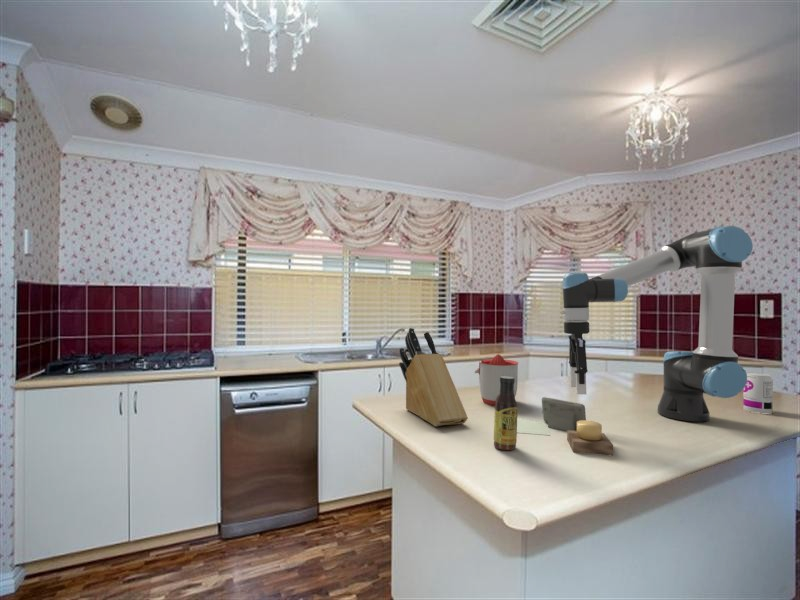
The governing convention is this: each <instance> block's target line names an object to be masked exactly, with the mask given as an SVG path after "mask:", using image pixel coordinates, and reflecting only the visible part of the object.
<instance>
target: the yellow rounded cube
mask: <svg viewBox="0 0 800 600" xmlns="http://www.w3.org/2000/svg"><path fill="white" fill-rule="evenodd" d="M602 427H603V425H602V424H601V423H599V422H598V421H593V420H588V419H586V420H581V421H577V429H576V431H577V436H578V437H580V438H583V440H600V439H602V433H603V431H602V429H603V428H602Z"/></svg>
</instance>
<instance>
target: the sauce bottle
mask: <svg viewBox="0 0 800 600" xmlns="http://www.w3.org/2000/svg"><path fill="white" fill-rule="evenodd" d="M514 382H515V379H514V377H509V376H501V377H500V394H499V395H498V397H497V399H496V402H495V406H494V407H495V408H494V421H493V422H494V423H493V424H494V425H493V445H494V447H495V448H497V449H498V450H502V451H513V450H515V449H516V447H517V441H518V440H517V437H518V435H517V434H518V433H517V418H518V404H517V401H516V396H515V397H514Z"/></svg>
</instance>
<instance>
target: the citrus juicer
mask: <svg viewBox="0 0 800 600" xmlns="http://www.w3.org/2000/svg"><path fill="white" fill-rule="evenodd" d="M478 364H479V365H478V368H477V369H475V371H474V374H478V379H479V381H478V382H479V383H478V384H479V385H478V386H479V391H480V395H481V399H482V402H483V403H484V404H486V405H489V406H494V407H495V402H496V399H497V397H498V395H499V394H500V377H501V376H509V377H514V379H515V382H514V397H515V398H516V396H517V391H518V379H519V378H518V375H519V374H518V373H519V371H518V366H519V362H518V361H515V360H511V359H510V360H509V359H504V358H503V356H502V355H501V354H499V353H498V354H496V355H495V356H494V357H493V358H487V359H486V358H484V359H481V361H479V363H478Z"/></svg>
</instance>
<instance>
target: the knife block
mask: <svg viewBox="0 0 800 600" xmlns="http://www.w3.org/2000/svg"><path fill="white" fill-rule="evenodd" d="M423 336H424V339H425V341H426V343H427V346H428V348H429V350H430V351H431V353H429V354H428V353H425V352H423V351H422V348H421V345H420V341H419V339H418V337H417V334H416V331H415V328H413V327H409V329H408V332H407V333H406V335H405V337H404V342H405V345H406V349H404V348H403V347H400V348H399V353H398V354H399V357H400V359H401V361H402V362H399V363H398V365H399V368H400V370H401V373H402V375H403V378H404V380H405V409H406V410H407V411H409V412H411V413H413V414H415V415H417V416H418V417H420V418H421V419H423V420H424V421H426V422H428V423H430V424H431V425H432V426H433V427H440V426H449V425H460V424H465V423H466V421H468V419H469V418H468V415H467V412H466V410H465V408H464V404H463V403H462V400H461V398H460V395H459V392H458V391H457V388H456V386H455V383H454V381H453V378H452V376H451V374H450V371H449V369H448V366H447V365H446V361H445V359H444V357H443V356H442V355H443V354H442V353H438V352H437V350H436V346H435V343H434V342H435V341H434V340H433V338H432V336H431V334H430V332H428V331H426V332H424V334H423ZM406 353H409V355H410V357H411V358H410V359H409V357H408V356H407V354H406Z"/></svg>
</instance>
